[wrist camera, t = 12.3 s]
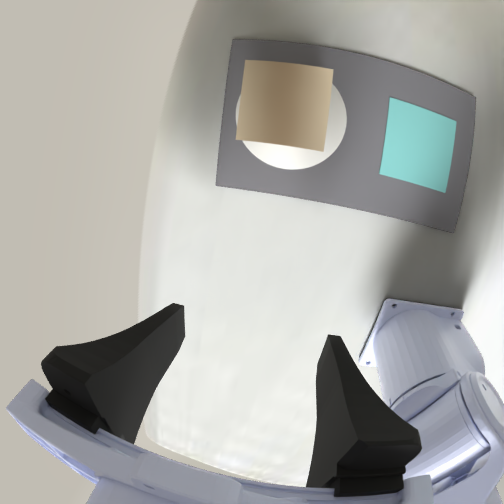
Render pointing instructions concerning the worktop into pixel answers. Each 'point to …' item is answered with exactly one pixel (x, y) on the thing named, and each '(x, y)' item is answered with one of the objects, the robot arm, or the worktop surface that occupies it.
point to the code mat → (359, 138)
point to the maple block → (284, 104)
